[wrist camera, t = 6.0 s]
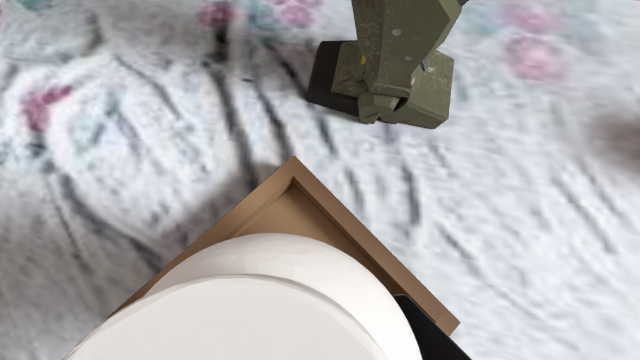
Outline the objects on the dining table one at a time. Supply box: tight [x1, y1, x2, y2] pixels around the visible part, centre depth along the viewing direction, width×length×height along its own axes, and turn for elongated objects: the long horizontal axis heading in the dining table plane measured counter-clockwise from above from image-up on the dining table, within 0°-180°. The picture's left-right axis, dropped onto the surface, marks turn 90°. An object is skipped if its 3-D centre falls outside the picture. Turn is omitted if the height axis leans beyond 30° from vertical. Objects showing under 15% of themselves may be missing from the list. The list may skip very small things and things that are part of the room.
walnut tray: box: [108, 156, 461, 336], centre depth 20 cm, size 14×14×3 cm
